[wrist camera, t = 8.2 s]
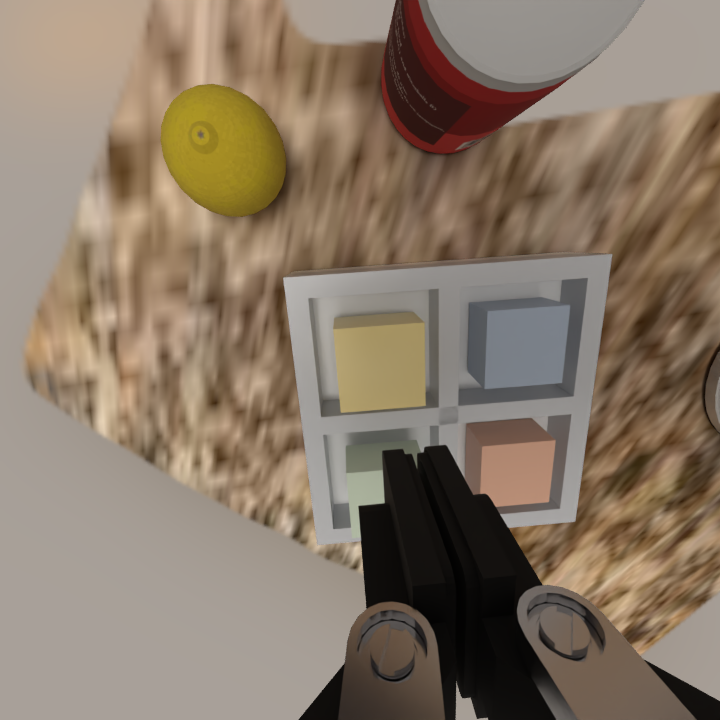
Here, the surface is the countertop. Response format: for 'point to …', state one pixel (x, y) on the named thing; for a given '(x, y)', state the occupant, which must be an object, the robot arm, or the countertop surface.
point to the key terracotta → (509, 461)
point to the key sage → (369, 475)
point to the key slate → (517, 342)
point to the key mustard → (380, 361)
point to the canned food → (486, 61)
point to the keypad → (444, 368)
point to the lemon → (223, 150)
